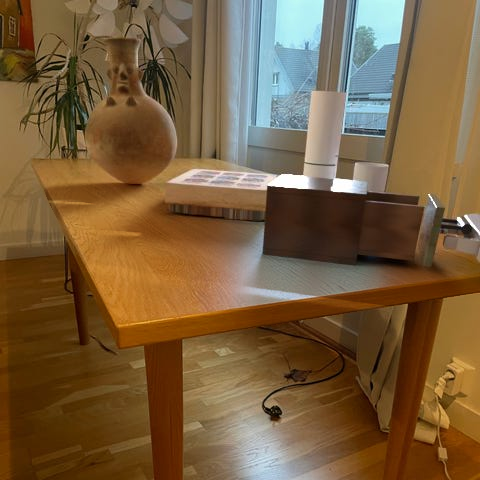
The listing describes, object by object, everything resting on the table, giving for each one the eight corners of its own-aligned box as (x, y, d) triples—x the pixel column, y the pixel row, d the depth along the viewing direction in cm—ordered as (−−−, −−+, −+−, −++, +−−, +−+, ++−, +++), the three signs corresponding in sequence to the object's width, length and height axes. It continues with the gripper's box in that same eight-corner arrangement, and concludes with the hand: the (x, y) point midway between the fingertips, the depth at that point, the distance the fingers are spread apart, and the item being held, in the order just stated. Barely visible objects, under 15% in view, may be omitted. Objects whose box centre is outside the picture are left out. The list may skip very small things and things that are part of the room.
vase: (104, 175, 143) (94, 41, 128) (183, 179, 143) (182, 45, 128) (76, 188, 122) (60, 29, 107) (169, 193, 121) (167, 34, 106)
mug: (377, 228, 98) (388, 167, 93) (344, 224, 100) (353, 164, 95) (381, 218, 106) (390, 162, 101) (351, 214, 108) (359, 159, 103)
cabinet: (358, 244, 86) (368, 181, 81) (355, 265, 75) (366, 194, 70) (276, 235, 89) (281, 174, 84) (262, 254, 78) (267, 185, 73)
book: (183, 192, 126) (151, 212, 100) (184, 166, 123) (151, 181, 98) (276, 199, 123) (267, 222, 98) (278, 173, 121) (270, 190, 95)
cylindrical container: (335, 212, 110) (351, 93, 100) (323, 217, 104) (339, 91, 94) (306, 207, 113) (319, 91, 103) (294, 212, 108) (306, 90, 97)
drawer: (455, 250, 82) (468, 197, 78) (466, 271, 71) (482, 211, 67) (345, 238, 86) (352, 186, 82) (340, 256, 75) (348, 198, 71)
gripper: (550, 285, 65) (443, 272, 68) (512, 246, 83) (429, 237, 86) (566, 241, 62) (454, 229, 65) (523, 210, 80) (437, 202, 83)
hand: (439, 233), depth 76 cm, fingers open, 8 cm apart
